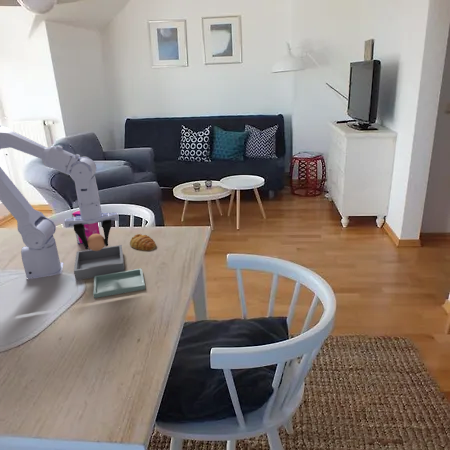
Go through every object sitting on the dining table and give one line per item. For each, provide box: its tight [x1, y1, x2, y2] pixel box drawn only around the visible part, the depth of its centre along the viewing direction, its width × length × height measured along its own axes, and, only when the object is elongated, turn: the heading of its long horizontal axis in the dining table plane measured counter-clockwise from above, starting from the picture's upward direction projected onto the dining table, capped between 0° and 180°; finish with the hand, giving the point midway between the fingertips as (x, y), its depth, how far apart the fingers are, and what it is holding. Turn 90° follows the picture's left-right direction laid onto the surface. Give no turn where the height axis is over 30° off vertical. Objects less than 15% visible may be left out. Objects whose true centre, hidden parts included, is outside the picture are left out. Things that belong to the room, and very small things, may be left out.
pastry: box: [129, 233, 157, 251], centre depth 134 cm, size 9×7×4 cm
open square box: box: [73, 244, 126, 281], centre depth 122 cm, size 13×13×4 cm
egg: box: [87, 233, 106, 251], centre depth 119 cm, size 5×5×5 cm
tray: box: [92, 268, 146, 299], centre depth 111 cm, size 13×10×2 cm
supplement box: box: [71, 209, 101, 245], centre depth 139 cm, size 6×6×12 cm
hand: (96, 246), depth 120 cm, fingers closed on egg, 5 cm apart
